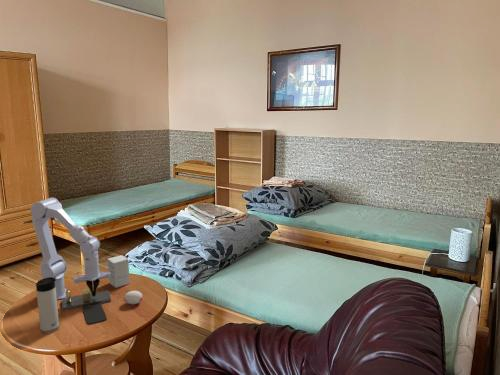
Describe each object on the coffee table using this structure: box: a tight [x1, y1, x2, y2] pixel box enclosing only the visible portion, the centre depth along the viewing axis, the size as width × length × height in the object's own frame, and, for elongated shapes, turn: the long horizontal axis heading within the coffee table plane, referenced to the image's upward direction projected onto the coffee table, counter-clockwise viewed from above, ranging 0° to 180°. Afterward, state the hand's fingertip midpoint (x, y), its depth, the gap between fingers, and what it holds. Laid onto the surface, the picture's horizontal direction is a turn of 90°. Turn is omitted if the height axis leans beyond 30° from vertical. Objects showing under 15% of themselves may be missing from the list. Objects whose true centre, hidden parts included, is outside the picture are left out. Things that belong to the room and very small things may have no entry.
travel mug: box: [35, 277, 60, 334], centre depth 142 cm, size 6×7×20 cm
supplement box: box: [107, 254, 131, 289], centre depth 181 cm, size 7×7×13 cm
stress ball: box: [123, 290, 143, 308], centre depth 164 cm, size 8×8×7 cm
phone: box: [82, 303, 108, 326], centre depth 155 cm, size 7×1×15 cm
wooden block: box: [81, 287, 91, 302], centre depth 164 cm, size 5×3×3 cm, turn 25°
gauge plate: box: [61, 289, 112, 311], centre depth 164 cm, size 9×19×6 cm, turn 115°
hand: (93, 295), depth 165 cm, fingers closed
